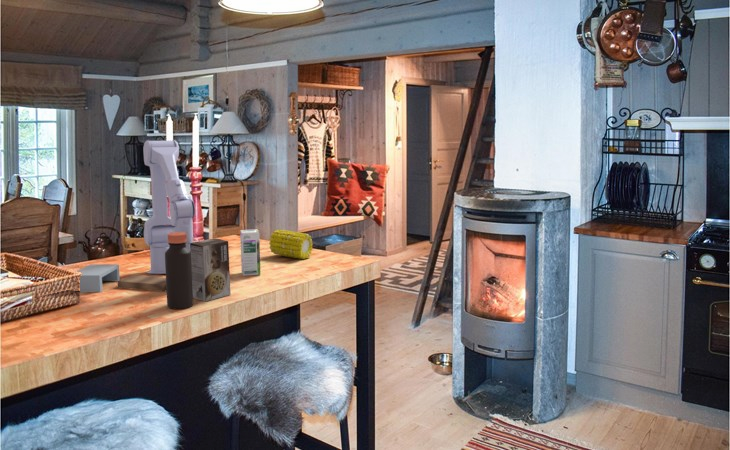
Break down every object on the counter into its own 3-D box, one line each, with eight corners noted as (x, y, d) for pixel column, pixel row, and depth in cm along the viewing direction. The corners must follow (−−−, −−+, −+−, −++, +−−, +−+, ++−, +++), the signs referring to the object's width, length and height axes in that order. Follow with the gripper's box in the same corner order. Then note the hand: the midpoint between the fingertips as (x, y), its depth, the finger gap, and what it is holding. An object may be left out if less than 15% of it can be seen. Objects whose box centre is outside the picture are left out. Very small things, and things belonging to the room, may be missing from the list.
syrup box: (242, 276, 211) (241, 232, 209) (241, 272, 217) (240, 229, 214) (260, 275, 212) (259, 231, 210) (258, 271, 218) (257, 228, 216)
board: (179, 286, 200) (178, 278, 200) (164, 293, 192) (164, 284, 192) (133, 282, 204) (133, 275, 204) (117, 289, 197) (117, 281, 196)
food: (317, 257, 240) (317, 230, 238) (295, 263, 231) (294, 235, 229) (288, 252, 249) (287, 226, 248) (265, 257, 240) (264, 230, 238)
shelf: (119, 279, 206) (118, 264, 205) (100, 292, 191) (99, 275, 190) (91, 279, 206) (90, 264, 205) (70, 291, 191) (68, 275, 191)
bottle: (162, 306, 177) (158, 234, 173) (183, 301, 182) (179, 230, 179) (177, 311, 172) (174, 237, 169) (198, 305, 178) (195, 233, 175)
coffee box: (217, 291, 192) (215, 237, 190) (231, 295, 188) (229, 240, 186) (191, 297, 185) (189, 242, 183) (205, 301, 181) (203, 245, 179)
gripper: (175, 235, 202) (177, 278, 204) (163, 244, 187) (166, 290, 190) (198, 235, 202) (200, 278, 204) (188, 244, 188) (190, 290, 190)
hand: (185, 283), depth 197 cm, fingers closed
